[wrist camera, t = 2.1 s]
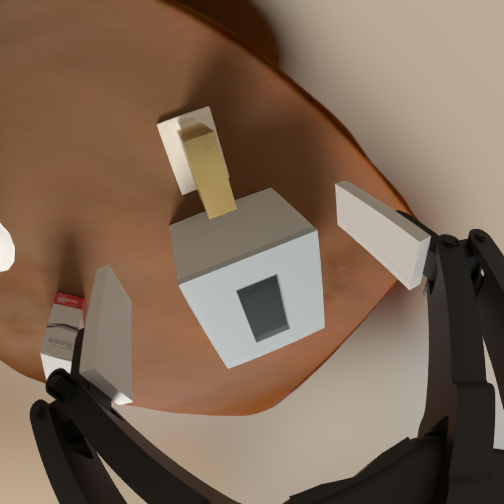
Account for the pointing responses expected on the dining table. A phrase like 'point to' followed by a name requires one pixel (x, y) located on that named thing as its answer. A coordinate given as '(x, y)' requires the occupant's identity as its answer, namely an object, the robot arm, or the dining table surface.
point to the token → (207, 169)
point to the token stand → (175, 148)
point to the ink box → (62, 332)
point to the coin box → (251, 275)
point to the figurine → (6, 249)
